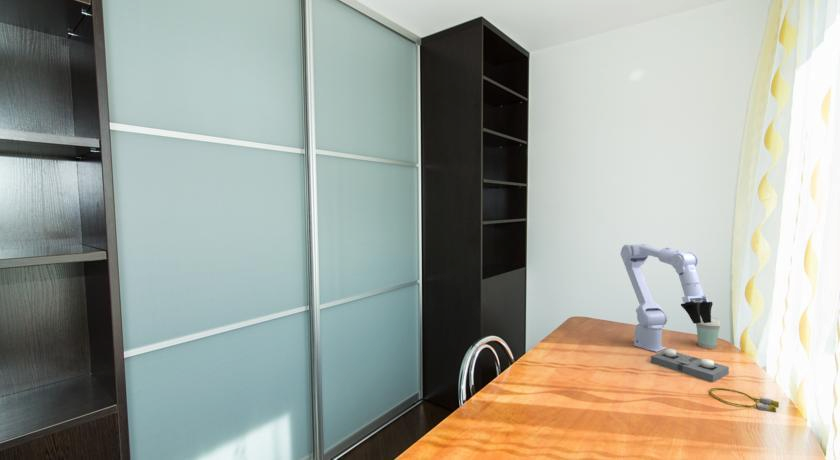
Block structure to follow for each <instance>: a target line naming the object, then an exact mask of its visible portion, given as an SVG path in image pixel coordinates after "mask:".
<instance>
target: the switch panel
mask: <svg viewBox="0 0 840 460" xmlns="http://www.w3.org/2000/svg"><path fill="white" fill-rule="evenodd" d="M680 354H681V353H680V352H677V351H676V357H669V356H666V355H665V350H661V351H659V352H658V353H657V352H656V353H655V354H653V355H652V354H651V355H650V363H651V364H655V365H658V366H659V367H664V368H667V369H670V370H674V371H676V372H678V373H682V374H686V375H689V376H692V377H695V378H698V379H702V380H704V381H708V382H710V383H715V382H716V381H718V380H720V379H722V378H723V377H726V376H727V375H729V372H730V371H729V370H730V367H729V366H728V365H723V364H719V363H716V362H714V368H706V367H703V366H702V365H701V359H702V358H700V357H699V358H698V357H695V356H691V355H689V362H690V363H689V364H683V363H680V362H678V361H680Z"/></svg>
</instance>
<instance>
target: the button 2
mask: <svg viewBox="0 0 840 460" xmlns="http://www.w3.org/2000/svg"><path fill="white" fill-rule="evenodd" d="M700 359H701V365H702V366H703V367H706V368H714V363H715V361H714V359H711V358H705V357H704V358H700Z"/></svg>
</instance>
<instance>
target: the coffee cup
mask: <svg viewBox="0 0 840 460" xmlns="http://www.w3.org/2000/svg"><path fill="white" fill-rule="evenodd" d="M700 318H701V316H700ZM695 325H696V326H695V328H696V332H697V333H696V334H697V343H698V347H700V348H702V349H705V348H706V349H707V350H716V349H717V343H718V337H719V333H720V326H721V321H720V319H719V318H716V317H712V316H711V323H704V322H703V321H702V319H701V323H696V324H695Z"/></svg>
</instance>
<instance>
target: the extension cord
mask: <svg viewBox="0 0 840 460" xmlns="http://www.w3.org/2000/svg"><path fill="white" fill-rule="evenodd" d="M713 391H728V392H732V393H737V394H740V395H743V394H744V396H747V397H749V398H750V399H752V400H753V401H754V402H755V403H754V404H752V405H749V404H742V403H741V404H740V403H734V402H730V401H727V400H725V399H722V398H720V397H718V396H717V395H715V394H714V393H713ZM709 394H710V396H711V397H713V398H714V399H715V400H718V401H720V403H721V402H722V403H724V404H726V405H729V406H732V407H738V408H756V409H757V410H760V409H761V410H760V411H765V410H766V412H772V411H773V412H775V413H776V412H777V408H779V405H780V403H779V401H776V400H774V399H771V398H765V397H760V398H757V397H753V396H750V395H749V394H747V393H746V392H741V391H738V390H736V389H730V388H724V387H711V388H709ZM758 401H759V402H760V403H762V404H759V403H758ZM767 404H768V405H767ZM771 405H773V406H771Z"/></svg>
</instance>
